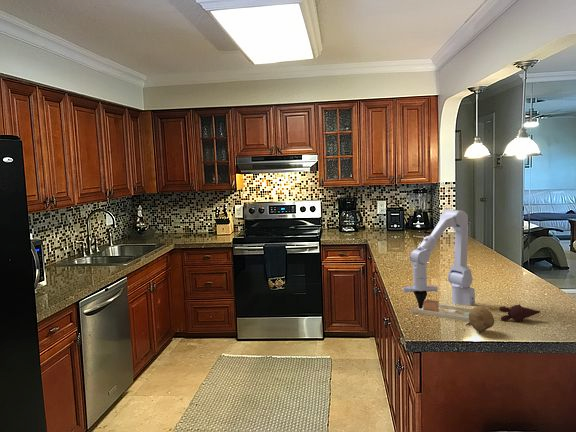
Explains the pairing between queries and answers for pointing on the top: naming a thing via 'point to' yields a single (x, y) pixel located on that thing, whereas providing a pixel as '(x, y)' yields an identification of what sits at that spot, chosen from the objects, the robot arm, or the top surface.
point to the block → (431, 305)
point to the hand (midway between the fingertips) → (420, 307)
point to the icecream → (517, 313)
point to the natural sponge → (481, 318)
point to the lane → (448, 312)
